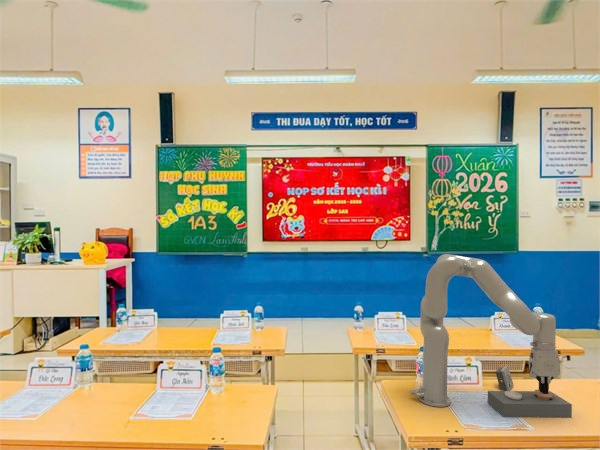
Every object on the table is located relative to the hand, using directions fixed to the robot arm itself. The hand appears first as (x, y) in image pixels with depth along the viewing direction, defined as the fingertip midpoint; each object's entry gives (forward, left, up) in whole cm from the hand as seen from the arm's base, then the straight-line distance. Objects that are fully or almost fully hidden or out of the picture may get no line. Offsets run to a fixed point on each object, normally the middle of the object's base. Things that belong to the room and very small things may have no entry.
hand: (543, 392), depth 155 cm
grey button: (-12, 0, -6) cm, 13 cm away
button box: (-6, 0, -7) cm, 9 cm away
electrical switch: (-3, +22, -7) cm, 23 cm away
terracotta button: (0, 0, -5) cm, 5 cm away
